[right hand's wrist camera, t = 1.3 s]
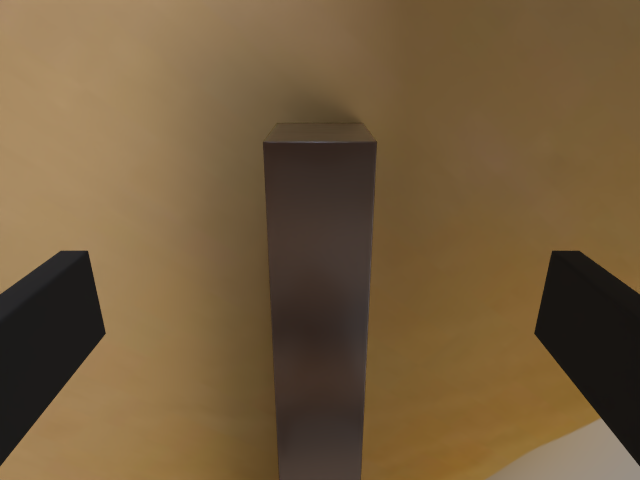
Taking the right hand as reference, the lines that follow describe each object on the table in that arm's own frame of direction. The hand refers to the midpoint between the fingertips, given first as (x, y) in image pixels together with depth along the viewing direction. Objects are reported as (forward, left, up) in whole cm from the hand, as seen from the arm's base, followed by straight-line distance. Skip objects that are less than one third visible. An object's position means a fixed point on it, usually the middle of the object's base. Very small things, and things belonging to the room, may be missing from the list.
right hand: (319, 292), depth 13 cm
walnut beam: (0, -14, -15) cm, 20 cm away
